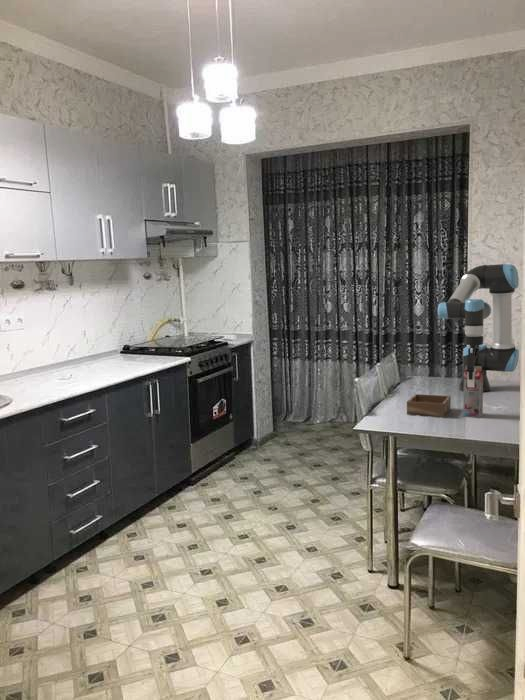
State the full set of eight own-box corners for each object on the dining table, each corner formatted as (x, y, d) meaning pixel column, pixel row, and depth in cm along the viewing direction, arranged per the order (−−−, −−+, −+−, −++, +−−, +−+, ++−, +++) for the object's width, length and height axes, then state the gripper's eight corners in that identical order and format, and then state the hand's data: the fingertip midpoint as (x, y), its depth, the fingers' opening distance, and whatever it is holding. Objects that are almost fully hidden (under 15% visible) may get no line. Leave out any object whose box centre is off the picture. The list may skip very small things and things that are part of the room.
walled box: (415, 406, 277) (415, 394, 276) (450, 409, 270) (450, 396, 269) (406, 414, 263) (406, 401, 262) (443, 417, 256) (443, 404, 255)
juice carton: (479, 418, 253) (479, 367, 250) (463, 416, 257) (463, 366, 253) (482, 414, 259) (483, 365, 255) (467, 412, 262) (467, 364, 259)
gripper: (469, 332, 265) (468, 378, 268) (459, 338, 243) (459, 388, 246) (487, 332, 262) (486, 379, 265) (479, 338, 240) (478, 390, 243)
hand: (473, 384), depth 255 cm, fingers open, 13 cm apart
